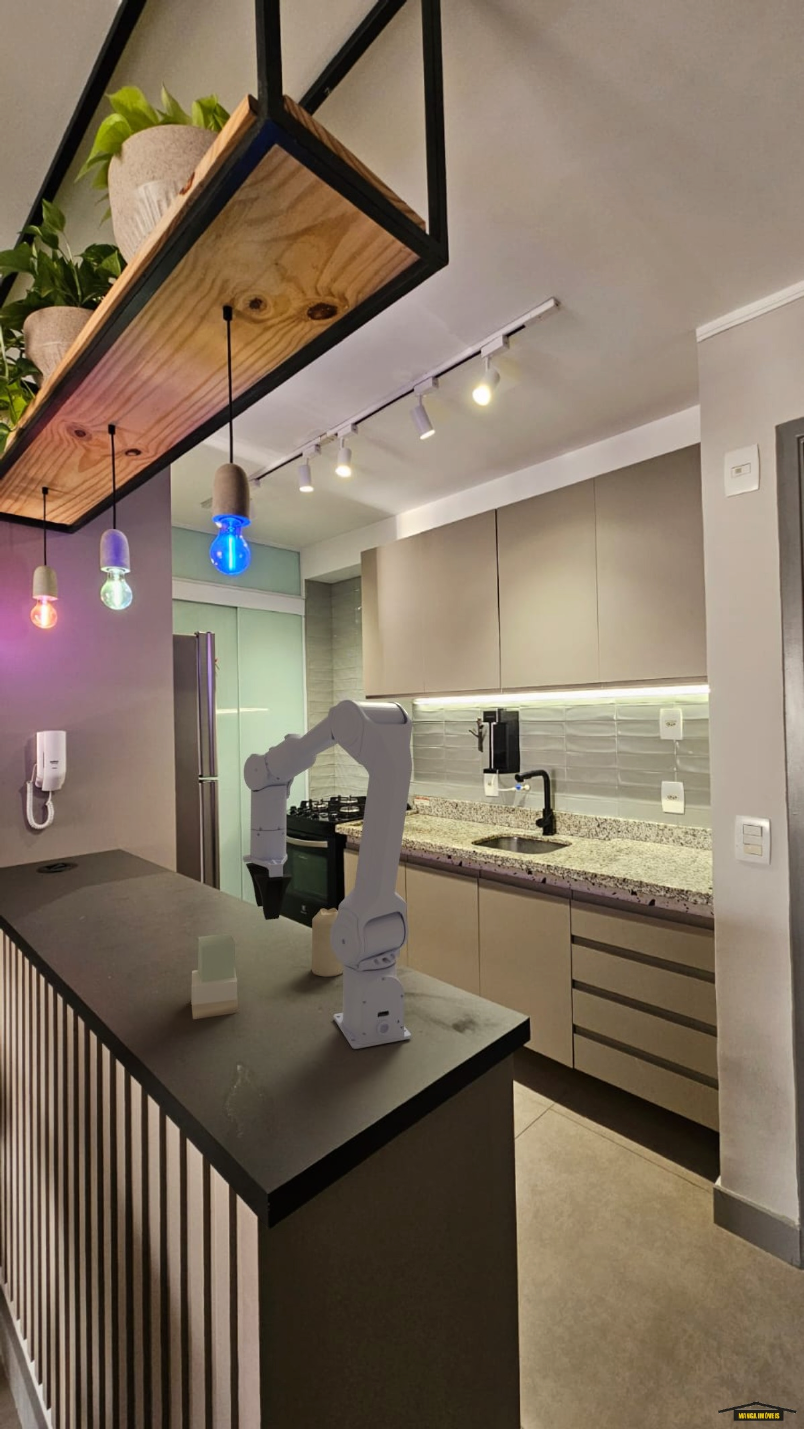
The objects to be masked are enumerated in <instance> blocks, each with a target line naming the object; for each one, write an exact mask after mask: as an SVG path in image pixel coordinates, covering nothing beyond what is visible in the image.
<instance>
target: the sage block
mask: <svg viewBox="0 0 804 1429" xmlns="http://www.w3.org/2000/svg"><path fill="white" fill-rule="evenodd" d="M197 939H198V944H197V945H198V949H197V950H198V952H197V953H198V955H197V970H198V973H199V976H200V979H201V982H209V981H215V980H222V979H228V978H234V977H235V972H236V967H235V964H236V962H235V961H236V960H235V958H236V956H235V954H236V942H235V939H234V938H233V936H232V935H231V933H230V932H229V933H218V934H210V935H205V936H204V935H203V936H198V938H197Z"/></svg>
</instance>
